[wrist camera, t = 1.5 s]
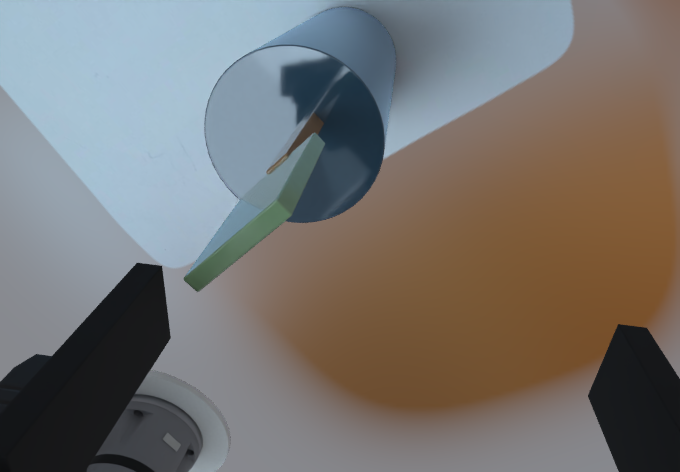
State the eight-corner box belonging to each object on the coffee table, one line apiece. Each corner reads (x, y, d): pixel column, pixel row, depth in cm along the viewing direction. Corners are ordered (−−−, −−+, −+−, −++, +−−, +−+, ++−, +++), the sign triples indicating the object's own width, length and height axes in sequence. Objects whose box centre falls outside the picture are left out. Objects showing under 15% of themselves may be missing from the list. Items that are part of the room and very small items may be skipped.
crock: (341, 134, 47) (222, 427, 17) (272, 58, 45) (-2, 249, 15) (417, 68, 44) (432, 296, 14) (348, -19, 41) (183, 33, 11)
